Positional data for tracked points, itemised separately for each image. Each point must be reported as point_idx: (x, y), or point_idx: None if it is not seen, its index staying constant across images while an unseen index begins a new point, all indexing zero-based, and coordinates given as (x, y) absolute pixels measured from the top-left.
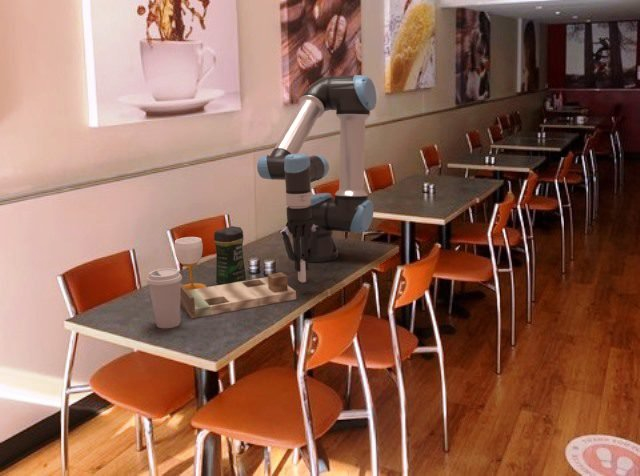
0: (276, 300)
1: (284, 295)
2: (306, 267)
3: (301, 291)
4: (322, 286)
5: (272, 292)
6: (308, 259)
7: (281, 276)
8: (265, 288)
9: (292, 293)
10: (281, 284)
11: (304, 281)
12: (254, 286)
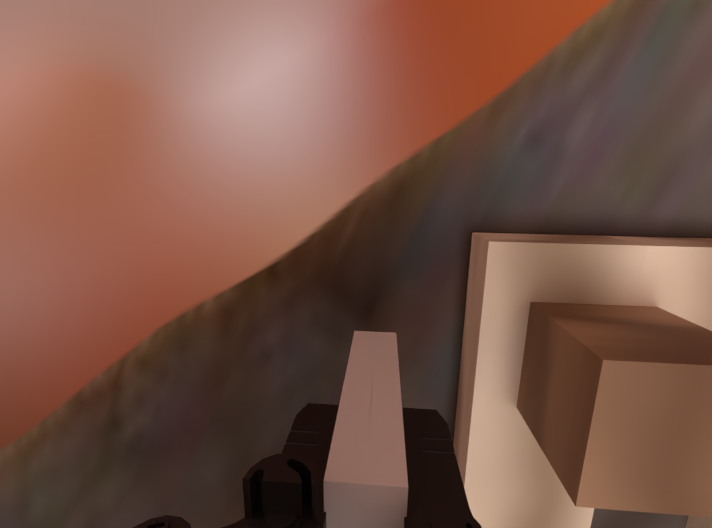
0: (638, 239)
1: (584, 242)
2: (314, 425)
3: None
4: (216, 364)
5: None
6: (257, 487)
7: (668, 379)
8: None
9: (515, 241)
10: (621, 327)
11: (368, 333)
12: None
